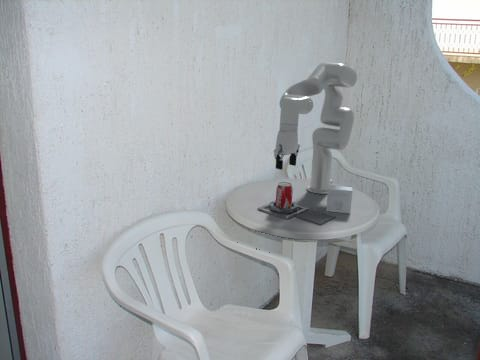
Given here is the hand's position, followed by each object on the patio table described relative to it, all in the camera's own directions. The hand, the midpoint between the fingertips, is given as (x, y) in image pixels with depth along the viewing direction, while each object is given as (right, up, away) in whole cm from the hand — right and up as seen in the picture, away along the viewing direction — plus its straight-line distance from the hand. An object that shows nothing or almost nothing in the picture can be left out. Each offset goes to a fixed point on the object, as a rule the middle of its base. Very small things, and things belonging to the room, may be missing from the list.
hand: (285, 167), depth 196 cm
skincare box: (+24, -19, +8) cm, 32 cm away
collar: (-1, -19, +6) cm, 20 cm away
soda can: (-1, -19, +6) cm, 20 cm away
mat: (+13, -21, -1) cm, 25 cm away
